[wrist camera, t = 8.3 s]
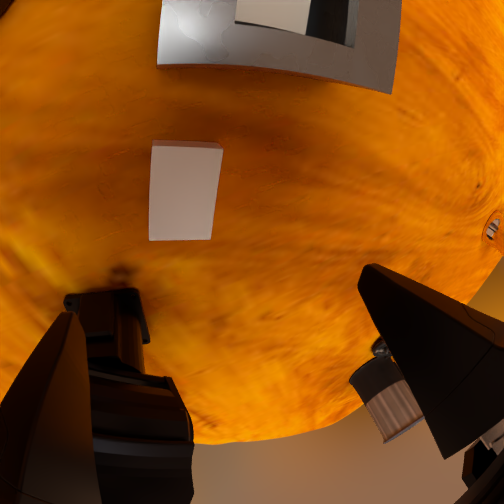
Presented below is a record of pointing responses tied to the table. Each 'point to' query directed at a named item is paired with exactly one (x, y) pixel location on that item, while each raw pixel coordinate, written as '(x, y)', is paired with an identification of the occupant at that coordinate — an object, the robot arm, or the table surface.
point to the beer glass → (495, 231)
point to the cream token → (274, 14)
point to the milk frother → (386, 394)
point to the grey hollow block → (287, 41)
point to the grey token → (183, 189)
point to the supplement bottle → (4, 5)
